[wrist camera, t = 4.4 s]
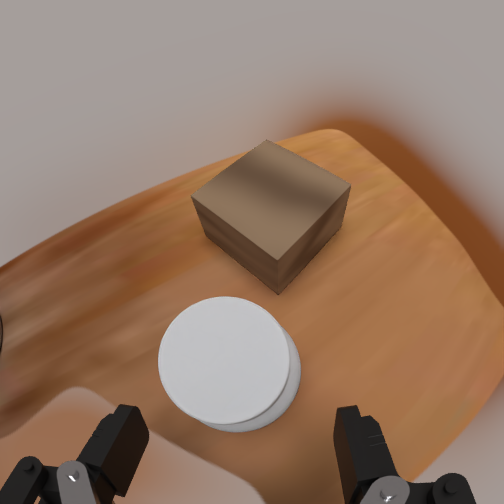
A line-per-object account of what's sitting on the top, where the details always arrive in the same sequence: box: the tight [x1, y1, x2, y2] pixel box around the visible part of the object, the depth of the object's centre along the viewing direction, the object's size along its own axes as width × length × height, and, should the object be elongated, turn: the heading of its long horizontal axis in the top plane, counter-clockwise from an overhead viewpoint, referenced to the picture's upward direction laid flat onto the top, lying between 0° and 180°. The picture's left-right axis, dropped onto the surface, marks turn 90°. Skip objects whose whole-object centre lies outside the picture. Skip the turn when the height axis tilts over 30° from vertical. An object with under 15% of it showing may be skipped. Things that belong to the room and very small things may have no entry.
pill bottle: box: [158, 297, 301, 432], centre depth 14 cm, size 6×6×10 cm
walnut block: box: [191, 140, 351, 295], centre depth 22 cm, size 8×8×5 cm
